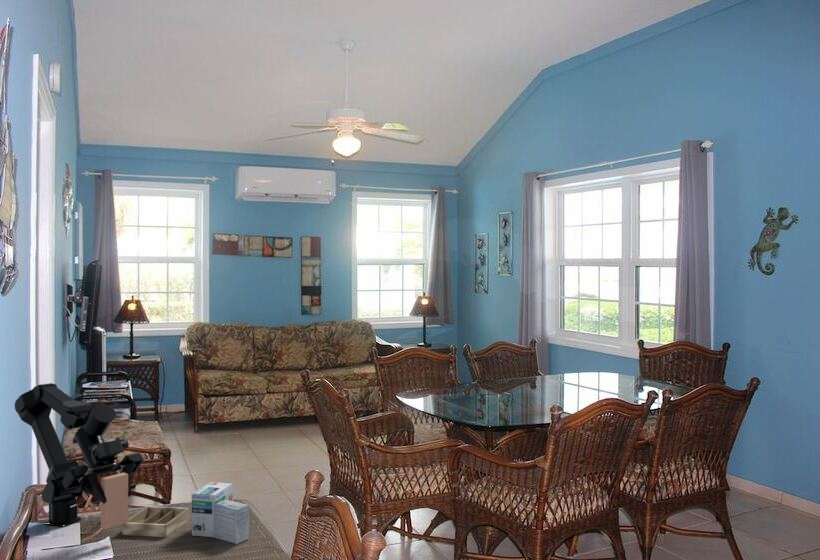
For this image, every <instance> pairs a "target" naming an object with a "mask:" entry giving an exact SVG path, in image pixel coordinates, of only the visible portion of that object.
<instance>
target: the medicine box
mask: <svg viewBox="0 0 820 560" xmlns="http://www.w3.org/2000/svg"><path fill="white" fill-rule="evenodd" d="M249 517H250V516H249V505H248V504H247V503H246V504H245V503H241V502H238V501H234V500H233V501H229V500H225V501H222V502H219V503H217V504H215V505H214V537H213V538H214V539H217V540H221V541H225V542H228V543H230V544H231V543H232V544H234V545H238V544H240V543H242V542H244V541H247V540H249V538H250V531H249V530H250V529H249V527H250V526H249V521H250V520H249Z"/></svg>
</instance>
